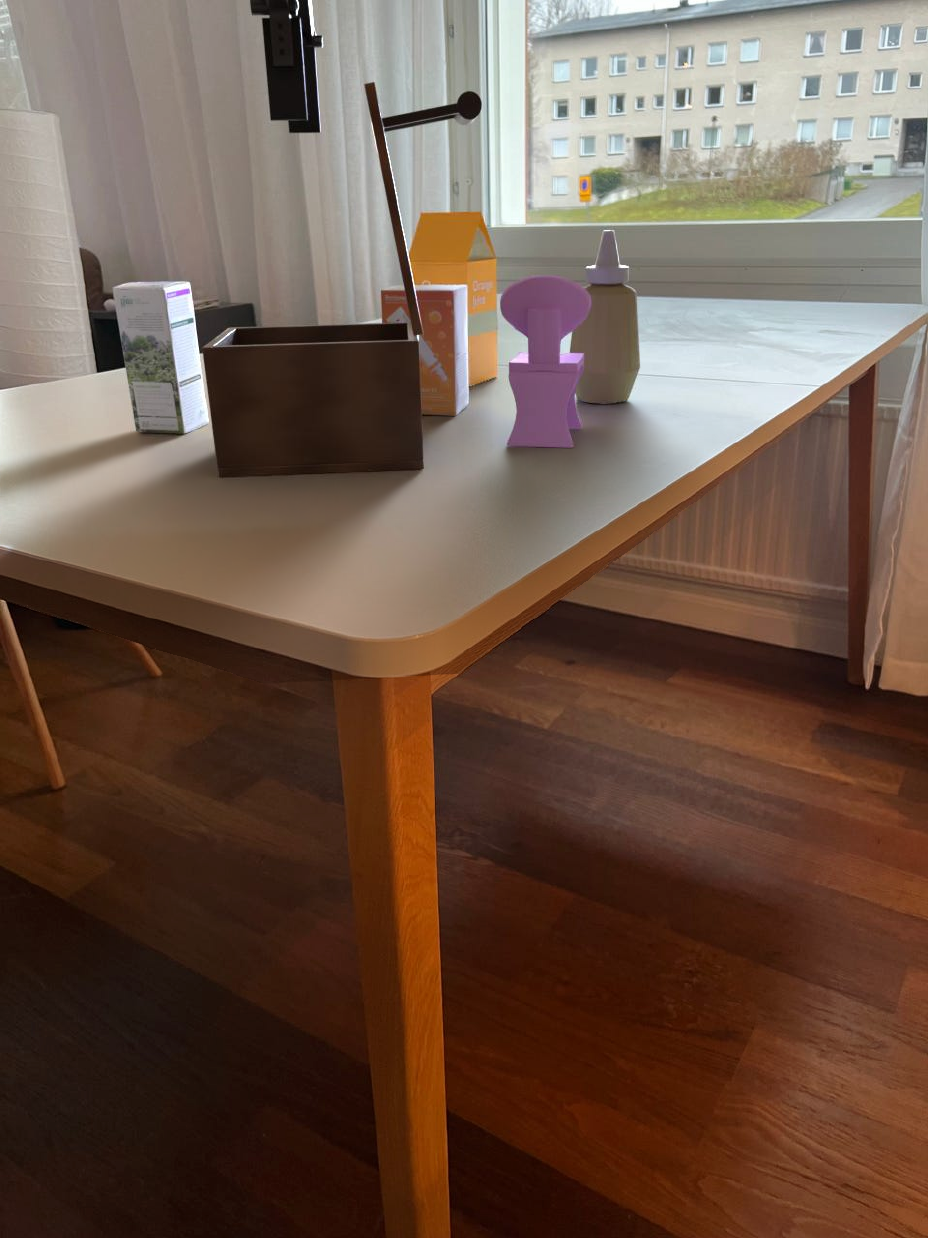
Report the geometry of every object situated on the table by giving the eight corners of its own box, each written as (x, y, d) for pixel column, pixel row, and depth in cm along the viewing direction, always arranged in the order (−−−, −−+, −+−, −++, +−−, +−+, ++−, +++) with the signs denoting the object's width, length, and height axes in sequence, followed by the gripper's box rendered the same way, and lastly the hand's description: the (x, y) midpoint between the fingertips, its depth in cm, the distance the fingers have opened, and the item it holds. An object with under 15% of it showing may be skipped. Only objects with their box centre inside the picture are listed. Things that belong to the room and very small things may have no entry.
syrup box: (210, 422, 103) (192, 279, 97) (184, 435, 97) (162, 284, 92) (162, 421, 104) (141, 280, 98) (133, 433, 99) (109, 284, 93)
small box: (385, 414, 105) (378, 288, 99) (401, 403, 110) (395, 283, 105) (457, 416, 103) (454, 288, 98) (470, 404, 109) (467, 283, 103)
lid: (363, 83, 71) (480, 60, 71) (368, 101, 84) (467, 81, 83) (413, 335, 78) (519, 314, 78) (411, 317, 91) (502, 299, 91)
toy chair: (592, 427, 97) (597, 269, 91) (584, 448, 89) (589, 276, 83) (511, 425, 98) (510, 270, 92) (496, 445, 90) (494, 277, 84)
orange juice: (469, 386, 119) (465, 212, 111) (409, 382, 123) (402, 213, 115) (498, 377, 125) (497, 210, 117) (441, 372, 129) (435, 211, 121)
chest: (218, 477, 82) (201, 347, 78) (241, 441, 95) (228, 327, 90) (423, 469, 83) (418, 340, 79) (420, 434, 95) (415, 321, 91)
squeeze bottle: (556, 396, 112) (558, 230, 105) (618, 391, 114) (625, 228, 107) (585, 409, 105) (590, 232, 98) (651, 403, 107) (660, 229, 100)
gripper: (245, -145, 81) (269, 137, 89) (186, -283, 58) (226, 113, 66) (335, -145, 81) (350, 136, 89) (311, -282, 58) (335, 112, 67)
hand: (297, 127), depth 78 cm, fingers open, 13 cm apart
